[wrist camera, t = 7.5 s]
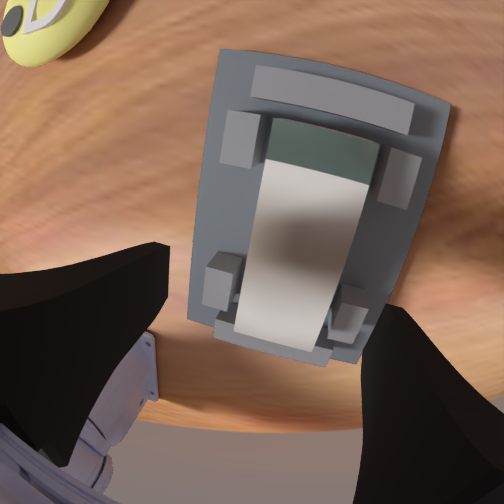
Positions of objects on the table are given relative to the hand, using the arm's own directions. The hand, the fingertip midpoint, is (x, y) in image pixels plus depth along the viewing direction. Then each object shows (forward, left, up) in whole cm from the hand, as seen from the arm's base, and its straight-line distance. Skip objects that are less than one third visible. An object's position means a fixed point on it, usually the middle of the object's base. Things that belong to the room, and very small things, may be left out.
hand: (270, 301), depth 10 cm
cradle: (0, -1, -8) cm, 8 cm away
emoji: (+14, +19, -9) cm, 25 cm away
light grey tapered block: (0, -1, -7) cm, 7 cm away
